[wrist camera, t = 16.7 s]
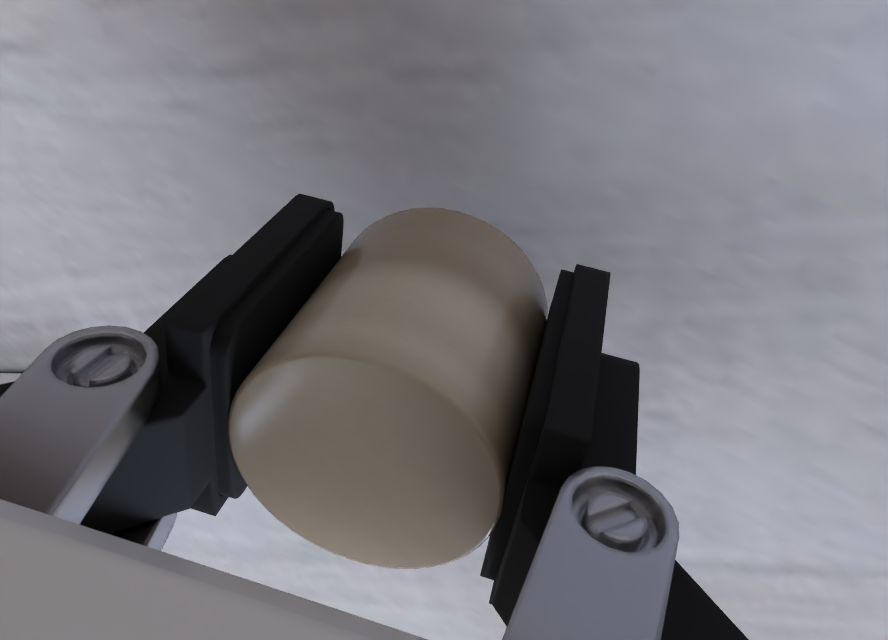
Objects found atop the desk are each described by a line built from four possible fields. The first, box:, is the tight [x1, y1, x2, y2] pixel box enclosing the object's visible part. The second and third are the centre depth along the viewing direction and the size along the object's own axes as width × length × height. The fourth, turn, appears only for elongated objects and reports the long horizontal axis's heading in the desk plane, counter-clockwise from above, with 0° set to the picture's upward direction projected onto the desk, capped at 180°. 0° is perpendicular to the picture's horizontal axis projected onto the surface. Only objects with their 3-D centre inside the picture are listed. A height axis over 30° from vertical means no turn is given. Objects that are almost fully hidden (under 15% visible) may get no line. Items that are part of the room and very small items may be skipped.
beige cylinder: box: [228, 208, 548, 569], centre depth 10 cm, size 4×4×4 cm
